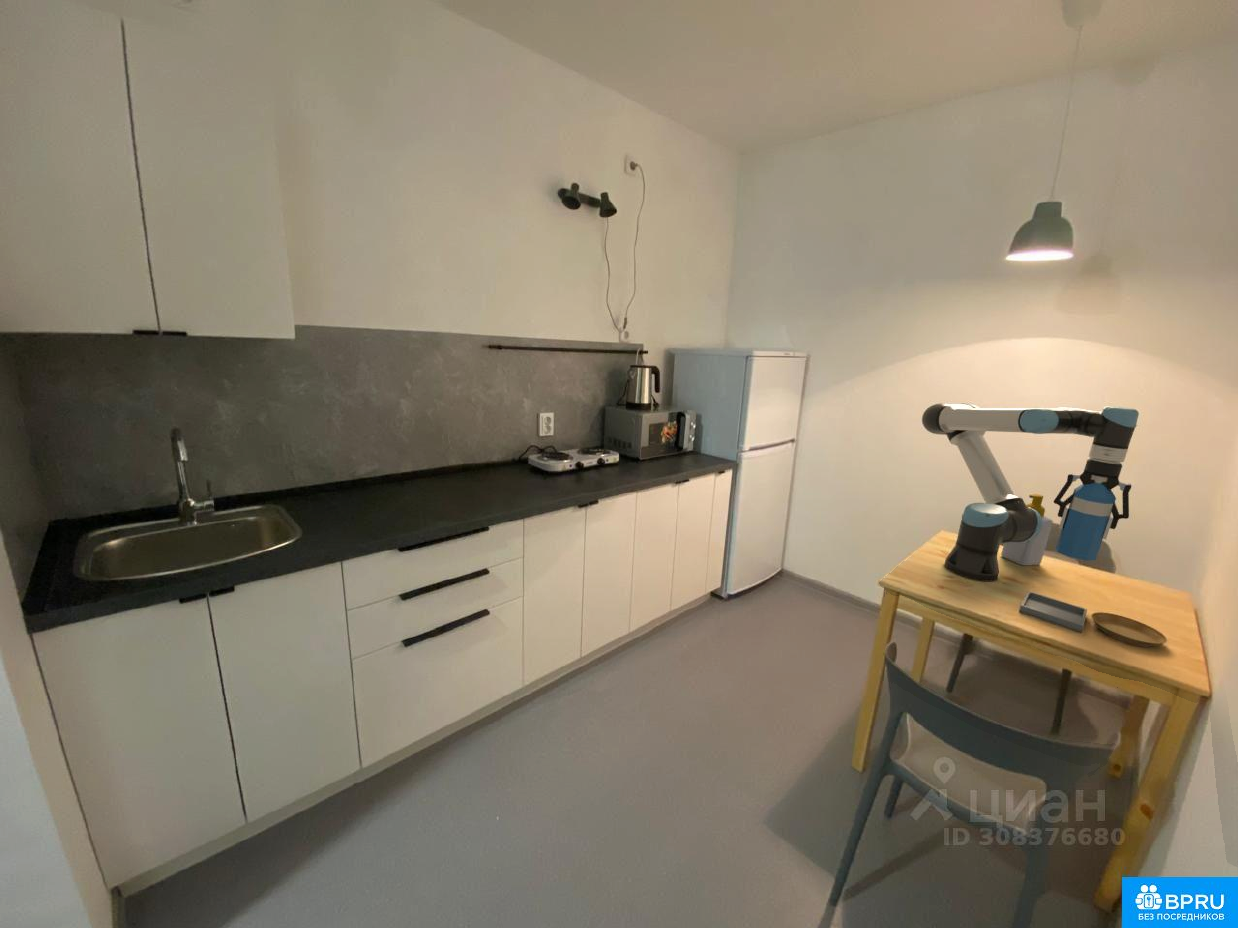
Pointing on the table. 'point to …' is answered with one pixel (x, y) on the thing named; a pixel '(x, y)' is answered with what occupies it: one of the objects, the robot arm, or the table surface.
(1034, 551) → the soap bottle
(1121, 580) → the table surface
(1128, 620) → the plant saucer
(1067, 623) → the tray
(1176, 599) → the table surface
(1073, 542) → the water bottle
